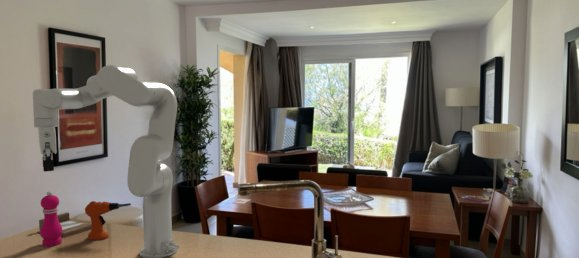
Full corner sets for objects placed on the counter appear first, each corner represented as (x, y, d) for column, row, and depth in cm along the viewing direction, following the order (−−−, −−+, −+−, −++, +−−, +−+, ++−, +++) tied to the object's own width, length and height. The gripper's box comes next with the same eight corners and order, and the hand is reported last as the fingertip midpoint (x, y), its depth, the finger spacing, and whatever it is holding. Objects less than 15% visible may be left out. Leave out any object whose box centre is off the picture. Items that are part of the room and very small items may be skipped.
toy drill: (132, 236, 153) (126, 198, 152) (85, 242, 155) (79, 204, 153) (138, 232, 158) (132, 195, 157) (92, 237, 159) (86, 200, 158)
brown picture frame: (91, 228, 167) (91, 217, 167) (64, 237, 157) (63, 225, 156) (67, 223, 175) (66, 212, 174) (39, 231, 164) (38, 220, 164)
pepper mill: (36, 246, 148) (33, 193, 146) (50, 239, 155) (48, 188, 153) (53, 247, 146) (50, 193, 145) (67, 240, 153) (65, 189, 152)
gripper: (59, 123, 142) (61, 171, 143) (56, 121, 156) (58, 164, 157) (34, 124, 138) (36, 173, 139) (33, 121, 152) (36, 166, 153)
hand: (48, 168), depth 148 cm, fingers open, 9 cm apart
